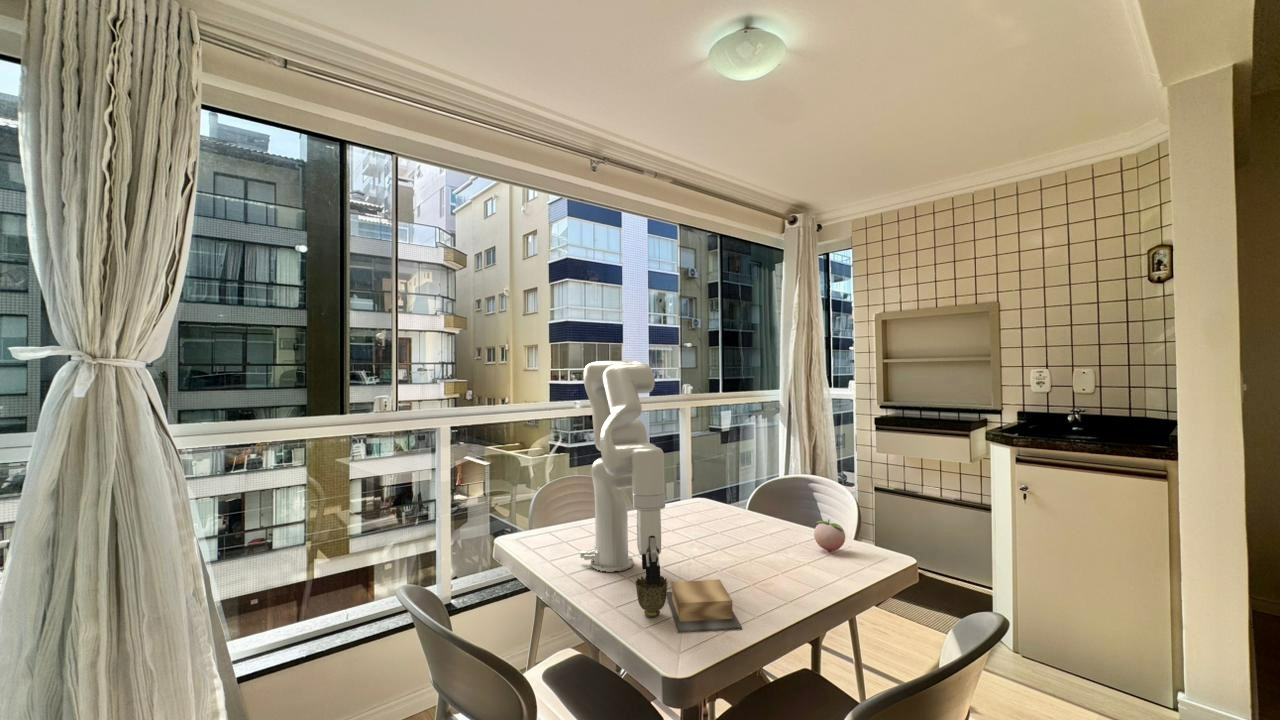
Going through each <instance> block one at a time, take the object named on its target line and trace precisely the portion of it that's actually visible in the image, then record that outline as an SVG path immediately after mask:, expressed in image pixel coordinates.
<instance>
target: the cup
mask: <svg viewBox="0 0 1280 720" xmlns="http://www.w3.org/2000/svg"><path fill="white" fill-rule="evenodd" d="M660 581H661V583H660V584H655V585H647V584H646V576H641V577H640V578H638V577H637V578H636V580H635V581H634V582H635V588H636V589H635V590H636V597H637V601H638V605H639V606H640V608H642V610H643V613H644V616H645V617H646V618H648V619H649V618H650V619H655V618H658V617H659V616H660V614H661V610H662V609H663V608H664V606H665V605H666V601H667V596H666V594H667V592H668V583H669V582H668V580H667V578H666V577H664V576H663V575H660Z"/></svg>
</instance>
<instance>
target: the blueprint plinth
mask: <svg viewBox="0 0 1280 720" xmlns="http://www.w3.org/2000/svg"><path fill="white" fill-rule="evenodd" d="M666 600H667V601H668V602H667V603H668V605H669V608H670V611H671V616H672V618H673V621H674V623H675V627H676V630H677V633H678V634H685V633H700V632H717V631H718V632H719V631H720V632H721V631H732V630H733V631H737V630H743V627H742V624H741V623H740V621H739V619H738V617H737V616H736V614H735V612H734V610H733V599H732V597H731V595H729V592H728V591H727V589H726V587H725V585H724V584H723V583H722V581H721V579H704V580H703V579H702V580H701V579H700V580H685V581H684V580H683V581H671V591H667V594H666Z"/></svg>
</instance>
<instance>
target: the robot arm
mask: <svg viewBox="0 0 1280 720" xmlns="http://www.w3.org/2000/svg"><path fill="white" fill-rule="evenodd" d="M655 382H656V381H655V375H654V371H653V369H652V368H651V367H650V365H648V363H647V364H646V363H644V362H641V361H638V360H597V361H592V362H589V363H588V364H587V365H585V367H584V370H583V383H584V388H585V392H586V394H587V397H588V400H589V402H590V406H591V414H592V415H591V416H592V428H593V440H594V445H595V448H596V450H598V451H599V452H600V454H601V457H598V458H596V459H595V460H594V462H593V463H592V465H591V479H592V485H593V491H594V492H593V493H594V515H595V516H594V518H595V519H594V520H595V525H594V528H595V535H594V536H595V546H594V549H591V550H588V551H587V550H581V551H580V559H583V561H590V567H591V566H592V567H593V568H595V569H597V570H596V571H598V570H600V571H599V572H602V571H606V572H605V573H615V572H614V571H619V572H622V571H621V570H623V571H626V570H629V569H630V568H632V567H633V565H634V558H633V557H631V556H630V555H629V531H628V530H629V526H628V520H629V519H628V503H627V500H626V498H625V497H624V496H623V495H622V494H621V493H620V491H619V490H621V489H628V488H632V509H634V510H635V511H637V512H636V546H637V551H638V554H639V555H640V556H641V568H642V570H644V571H645V577H646V584H647V585H655V584H660V583H661V581H660V577H661V565H660V556H659V555H661V553H662V518H661V517H662V513H661V510H664V509H665V508H666V491H665V489H666V488H665V487H666V486H665V484H666V483H665V455H664V454H665V453H664V451H663V449H662V448H661V447H658V446H656V445H655V444H654V443H651V442H648V435H647V430H646V427H645V424H644V423H643V421H641V420H640V419H638V418H639V417H641V415H642V411H643V407H642V404H641V400H640V397H639V394H649V393H651V392H652V391H653V390H654V388H655V384H656V383H655ZM592 567H591V568H592ZM593 568H592V569H593ZM628 568H629V569H628ZM595 569H594V570H595ZM625 569H626V570H625Z"/></svg>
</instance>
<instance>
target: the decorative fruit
mask: <svg viewBox="0 0 1280 720" xmlns="http://www.w3.org/2000/svg"><path fill="white" fill-rule="evenodd" d="M815 525H816V526H815V528H814V530H813V536H814V540H815V542H816V543H817V545H818V546H819V547H820V548H821V549H824V550H825V551H827V552H829V553H831V552H836V551H838V550H840V549H841V548H842V546H844V544H845V542H846V533H845V530H844V529H843V527H842V526H841V525H840V524H839V523H838V524H837V523H832V522H831V523H830V519H828V520H827V521H826V520H819V521H817V522H815Z"/></svg>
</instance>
